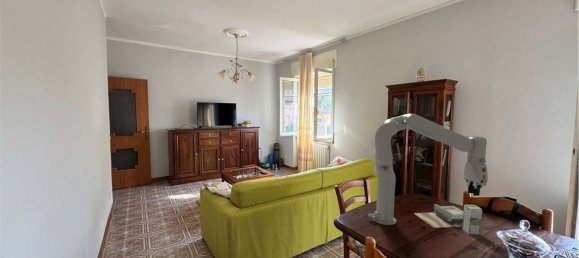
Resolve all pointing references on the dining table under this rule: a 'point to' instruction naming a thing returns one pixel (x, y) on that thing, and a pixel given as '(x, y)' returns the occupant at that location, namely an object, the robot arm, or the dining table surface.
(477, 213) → the syrup box
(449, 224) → the cream tray
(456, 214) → the pale grey flat box
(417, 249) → the dining table surface
